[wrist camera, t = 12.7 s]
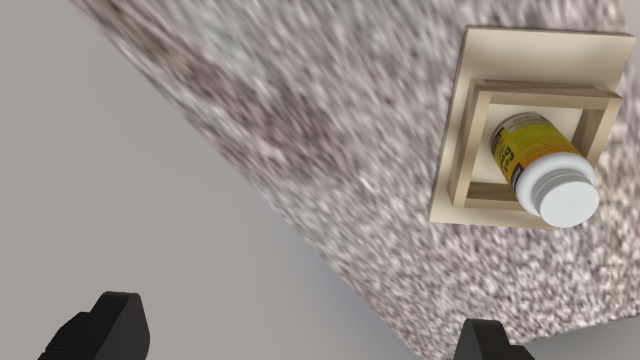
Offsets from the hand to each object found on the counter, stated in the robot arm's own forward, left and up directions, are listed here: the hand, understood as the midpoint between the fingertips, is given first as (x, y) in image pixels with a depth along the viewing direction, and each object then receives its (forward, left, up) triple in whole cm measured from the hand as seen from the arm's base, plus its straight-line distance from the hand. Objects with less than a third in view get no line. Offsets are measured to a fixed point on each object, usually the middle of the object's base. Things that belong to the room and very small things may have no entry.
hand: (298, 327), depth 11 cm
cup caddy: (+8, +17, -30) cm, 35 cm away
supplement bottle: (+8, +17, -29) cm, 35 cm away
